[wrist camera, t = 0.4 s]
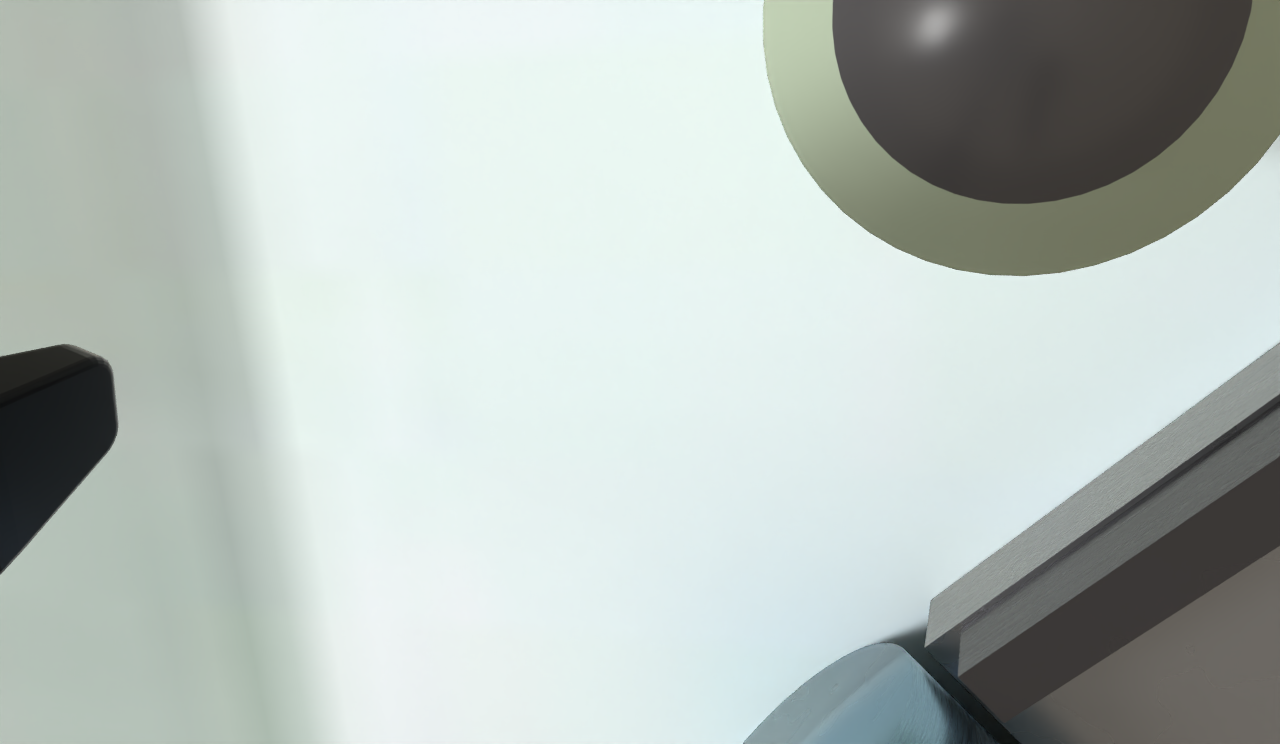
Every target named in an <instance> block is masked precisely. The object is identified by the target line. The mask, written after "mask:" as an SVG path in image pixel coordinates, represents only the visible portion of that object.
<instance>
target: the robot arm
mask: <svg viewBox="0 0 1280 744" xmlns="http://www.w3.org/2000/svg"><path fill="white" fill-rule="evenodd" d="M117 432H118V415H117V405H116V395H115V386H114V376H113V370H112V367H111V365H110V364H109V362H108V361H107V360H106V359H104V358H103V357H101V356H98V355H96V354H94V353H91V352H89V351H86V350H84V349H82V348H79V347H77V346H74V345H69V344H62V345H56V346H51V347H46V348H41V349H36V350H31V351H26V352H21V353H16V354H11V355H6V356H1V357H0V574H1V573H2V572H3V571H4V570H5V569H6V568H7V567H8V566H9V565H10V564H11V563H12V562H13V560H14V559H15V558H16V557H17V556H18V555H19V554H20V553H21V552H22V551H23V549H24V548H25V547H26V546H27V545H28V544H29V543H30V541H31V540H32V539H33V538H34V537H35V536H36V534H37V533H38V532H39V531H40V530H41V529H42V528H43V526H44V525H45V524H46V523H47V522H48V521H49V519H50V518H51V517H52V516H53V515H54V514H55V513H56V511H57V510H58V509H59V508H60V507H61V506H62V504H63V503H64V502H65V501H66V500H67V499H68V498H69V496H70V495H71V494H72V493H73V492H74V491H75V490H76V488H77V487H78V486H79V485H80V484H81V483H82V481H83V480H84V479H85V478H86V477H87V476H88V475H89V473H90V472H91V471H92V470H93V469H94V468H95V466H96V465H97V464H98V463H99V462H100V461H101V460H102V458H103V457H104V456H105V455H106V454H107V452H108V451H109V450H110V448H111V446H112V445H113V443H114V441H115V438H116V436H117Z"/></svg>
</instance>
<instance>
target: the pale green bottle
mask: <svg viewBox="0 0 1280 744" xmlns="http://www.w3.org/2000/svg"><path fill="white" fill-rule="evenodd" d="M763 45H764V53H765V61H766V68H767V76H768V80H769V84H770V88H771V92H772V95H773V99H774V103H775V107H776V110H777V112H778V115H779V117H780V120H781V122H782V125H783V127H784V130H785V132H786V135H787V137H788V139H789V141H790V143H791V144H792V146H793V148H794V150H795V151H796V153H797V155H798V157H799V159H800V160H801V162H802V164H803V165H804V167H805V168H806V170H807V171H808V172H809V174H810V175H811V176H812V178H813V179H814V180H815V182H816V183H817V184H818V186H819V187H820V188H821V190H822V191H823V192H824V193H825V194H826V195H827V196H828V197H829V198H830V199H831V200H832V201H833V202H834V203H835V204H836V205H837V206H838V207H839V208H840V209H841V210H842V211H843V212H844V213H845V214H846V215H848V216H849V217H850V218H851V219H853V220H854V221H855V222H857V223H858V224H859V225H860V226H862V227H863V228H864V229H865V230H867V231H868V232H870V233H871V234H873V235H875V236H876V237H878V238H880V239H881V240H883V241H885V242H886V243H888V244H890V245H892V246H893V247H895V248H897V249H899V250H902V251H904V252H906V253H909V254H911V255H913V256H916V257H918V258H920V259H923V260H925V261H928V262H932V263H935V264H939V265H942V266H946V267H949V268H953V269H956V270H962V271H968V272H975V273H981V274H988V275H1012V276H1029V275H1040V274H1051V273H1061V272H1065V271H1070V270H1075V269H1080V268H1084V267H1089V266H1094V265H1097V264H1100V263H1103V262H1106V261H1109V260H1112V259H1115V258H1118V257H1121V256H1124V255H1127V254H1130V253H1132V252H1134V251H1136V250H1138V249H1141V248H1143V247H1145V246H1147V245H1149V244H1151V243H1153V242H1155V241H1157V240H1160V239H1162V238H1164V237H1166V236H1167V235H1169V234H1170V233H1172V232H1174V231H1175V230H1177V229H1178V228H1180V227H1182V226H1183V225H1185V224H1187V223H1188V222H1190V221H1191V220H1193V219H1195V218H1196V217H1198V216H1199V215H1200V214H1202V213H1203V212H1204V211H1205V210H1207V209H1208V208H1209V207H1210V206H1212V205H1213V204H1214V203H1215V202H1217V201H1218V200H1219V199H1220V198H1222V197H1223V196H1224V195H1225V194H1227V193H1228V192H1229V191H1230V190H1231V189H1232V188H1233V187H1234V186H1235V185H1236V184H1237V183H1238V182H1239V181H1240V180H1241V179H1242V178H1243V177H1244V176H1245V175H1246V174H1247V173H1248V172H1249V171H1250V170H1251V169H1252V168H1253V167H1254V166H1255V165H1256V164H1257V163H1258V161H1259V160H1260V159H1261V158H1262V156H1263V155H1264V154H1265V152H1266V151H1267V150H1268V149H1269V147H1270V146H1271V145H1272V144H1273V142H1274V141H1275V140H1276V138H1277V137H1278V136H1279V135H1280V0H764V6H763Z"/></svg>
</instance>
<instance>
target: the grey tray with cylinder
mask: <svg viewBox="0 0 1280 744" xmlns="http://www.w3.org/2000/svg"><path fill="white" fill-rule="evenodd" d="M924 648H925V649H926V650H927V651H928V652H929V653H930V654H931V655H932V656H933V657H934V658H935V659H936V660H937V661H938V662H939V663H940V664H941V665H942V666H943V667H944V668H945V669H946V670H947V671H948V672H949V673H950V674H951V675H952V676H953V677H954V678H955V679H956V680H957V681H958V682H959V683H960V684H961V685H962V686H963V687H964V688H965V689H966V690H967V691H968V692H969V693H970V694H971V695H972V696H973V697H974V698H975V699H976V700H977V701H978V702H979V703H980V704H981V705H982V706H983V707H984V708H985V709H986V710H987V711H988V712H989V713H990V714H991V715H992V716H993V717H994V718H995V719H996V720H997V721H999V722H1000V723H1001V724H1002V725H1003V726H1004V727H1005V728H1006V729H1007V730H1008V731H1009V732H1010V733H1011V734H1012V735H1013V736H1014V737H1015V738H1016V739H1017V740H1018V741H1019V742H1020V743H1021V744H1280V343H1279V344H1277V345H1276V346H1274V347H1273V348H1272V349H1270V350H1269V351H1268V352H1266V353H1265V354H1264V355H1262V356H1261V357H1260V358H1258V359H1257V360H1255V361H1254V362H1253V363H1251V364H1250V365H1249V366H1247V367H1246V368H1245V369H1243V370H1242V371H1241V372H1239V373H1238V374H1237V375H1235V376H1234V377H1232V378H1231V379H1230V380H1228V381H1227V382H1226V383H1224V384H1223V385H1222V386H1220V387H1219V388H1218V389H1216V390H1215V391H1213V392H1212V393H1211V394H1209V395H1208V396H1207V397H1205V398H1204V399H1203V400H1201V401H1200V402H1199V403H1197V404H1196V405H1195V406H1193V407H1192V408H1190V409H1189V410H1188V411H1186V412H1185V413H1184V414H1182V415H1181V416H1180V417H1178V418H1177V419H1176V420H1174V421H1173V422H1172V423H1170V424H1169V425H1167V426H1166V427H1165V428H1163V429H1162V430H1161V431H1159V432H1158V433H1157V434H1155V435H1154V436H1153V437H1151V438H1150V439H1148V440H1147V441H1146V442H1144V443H1143V444H1142V445H1140V446H1139V447H1138V448H1136V449H1135V450H1134V451H1132V452H1131V453H1130V454H1128V455H1127V456H1125V457H1124V458H1123V459H1121V460H1120V461H1119V462H1117V463H1116V464H1115V465H1113V466H1112V467H1111V468H1109V469H1108V470H1106V471H1105V472H1104V473H1102V474H1101V475H1100V476H1098V477H1097V478H1096V479H1094V480H1093V481H1092V482H1090V483H1089V484H1088V485H1086V486H1085V487H1083V488H1082V489H1081V490H1079V491H1078V492H1077V493H1075V494H1074V495H1073V496H1071V497H1070V498H1069V499H1067V500H1066V501H1065V502H1063V503H1062V504H1060V505H1059V506H1058V507H1056V508H1055V509H1054V510H1052V511H1051V512H1050V513H1048V514H1047V515H1046V516H1044V517H1043V518H1041V519H1040V520H1039V521H1037V522H1036V523H1035V524H1033V525H1032V526H1031V527H1029V528H1028V529H1027V530H1025V531H1024V532H1023V533H1021V534H1020V535H1018V536H1017V537H1016V538H1014V539H1013V540H1012V541H1010V542H1009V543H1008V544H1006V545H1005V546H1004V547H1002V548H1001V549H999V550H998V551H997V552H995V553H994V554H993V555H991V556H990V557H989V558H987V559H986V560H985V561H983V562H982V563H981V564H979V565H978V566H976V567H975V568H974V569H972V570H971V571H970V572H968V573H967V574H966V575H964V576H963V577H962V578H960V579H959V580H958V581H956V582H955V583H953V584H952V585H951V586H949V587H948V588H947V589H945V590H944V591H943V592H941V593H940V594H939V595H937V596H936V597H934V598H933V599H932V600H931V602H930V610H929V617H928V625H927V632H926V640H925V647H924ZM743 744H999V743H998V742H997V741H996V740H995V739H994V738H993V737H992V736H991V735H990V734H989V733H988V732H987V731H986V730H985V729H984V728H983V727H982V726H981V725H980V724H979V723H978V722H977V721H976V720H975V719H974V718H973V717H972V716H971V715H970V714H969V713H968V712H967V711H966V710H965V709H964V708H963V707H962V706H961V705H960V704H959V703H958V702H957V701H956V700H955V699H954V698H953V697H952V696H951V695H950V694H949V693H948V692H947V691H946V690H945V689H944V688H943V687H942V686H941V685H940V684H939V683H938V682H937V681H936V680H935V679H934V678H933V677H932V676H931V675H930V674H929V673H928V672H927V671H926V670H925V669H924V668H923V667H922V666H921V665H920V664H919V663H918V662H917V661H916V660H915V659H914V658H913V657H912V656H911V655H910V654H909V653H908V652H907V651H906V650H905V649H904V648H903V647H901V646H899V645H897V644H894V643H879V644H874V645H870V646H867V647H864V648H861V649H859V650H856V651H854V652H852V653H850V654H848V655H846V656H844V657H842V658H840V659H839V660H837V661H836V662H834V663H832V664H831V665H829V666H827V667H826V668H825V669H823V670H822V671H820V672H819V673H818V674H816V675H815V676H813V677H812V678H811V679H810V680H808V681H807V682H806V683H804V684H803V685H802V686H801V687H799V688H798V689H797V690H796V691H795V692H794V693H792V694H791V695H790V696H789V697H788V698H787V699H786V700H784V701H783V702H782V703H781V704H780V705H779V706H778V707H777V708H776V709H775V710H774V711H773V712H772V713H771V714H770V715H769V716H768V717H767V718H766V719H765V720H764V721H763V722H762V723H761V724H760V725H759V726H758V727H757V728H756V729H755V730H754V732H753V733H752V734H751V735H750V736H749V737H748V738H747V739H746V740H745V742H744V743H743Z"/></svg>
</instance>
